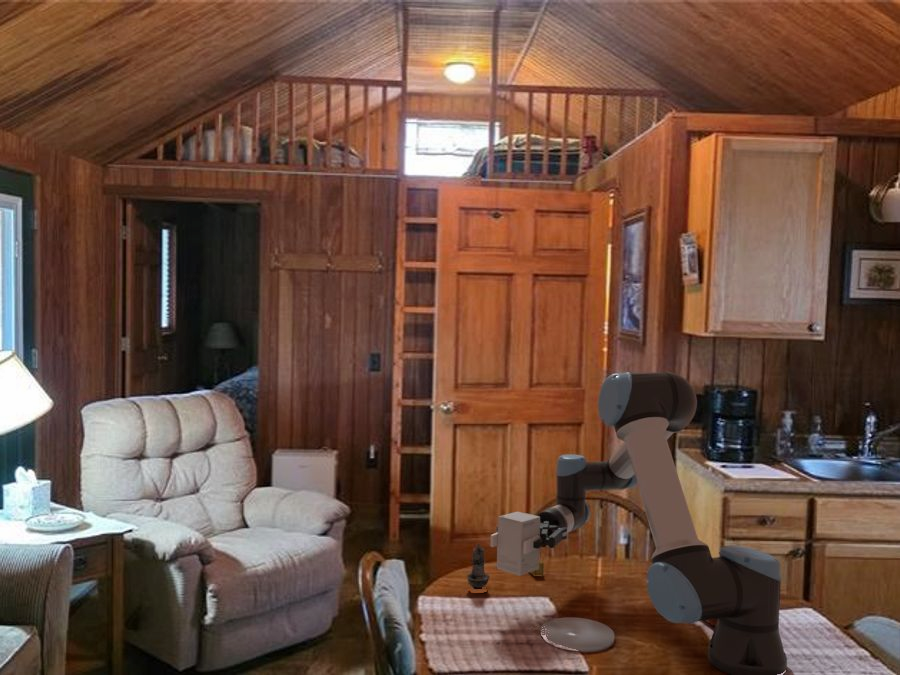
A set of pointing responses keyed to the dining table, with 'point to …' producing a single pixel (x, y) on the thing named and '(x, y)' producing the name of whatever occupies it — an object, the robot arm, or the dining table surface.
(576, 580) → the dining table surface
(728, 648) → the robot arm
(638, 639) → the dining table surface
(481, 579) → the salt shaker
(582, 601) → the dining table surface
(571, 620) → the plate
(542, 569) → the medication box
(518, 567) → the supplement box
